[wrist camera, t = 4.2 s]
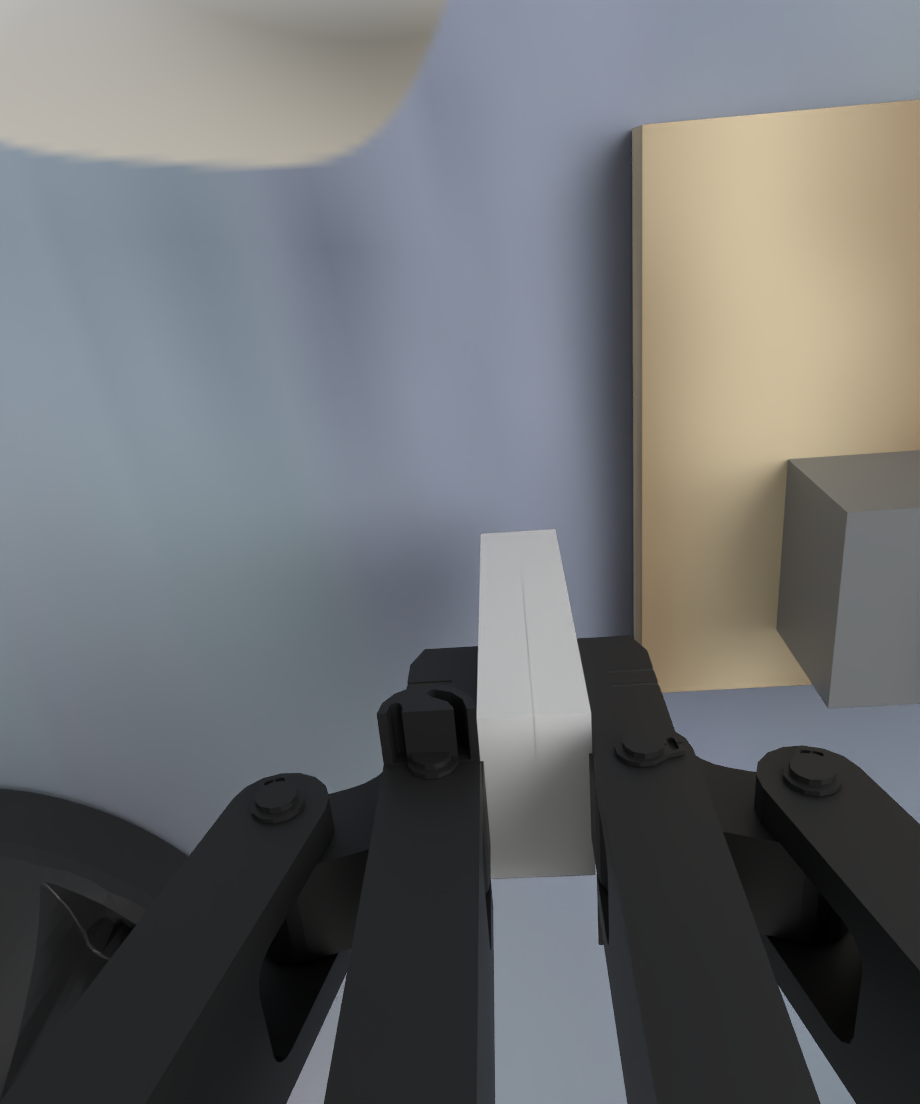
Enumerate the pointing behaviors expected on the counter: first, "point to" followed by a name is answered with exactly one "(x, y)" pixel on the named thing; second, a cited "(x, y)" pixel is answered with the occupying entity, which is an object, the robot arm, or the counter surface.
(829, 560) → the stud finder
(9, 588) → the counter surface
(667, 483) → the plywood panel
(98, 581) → the counter surface
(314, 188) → the counter surface
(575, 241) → the counter surface
